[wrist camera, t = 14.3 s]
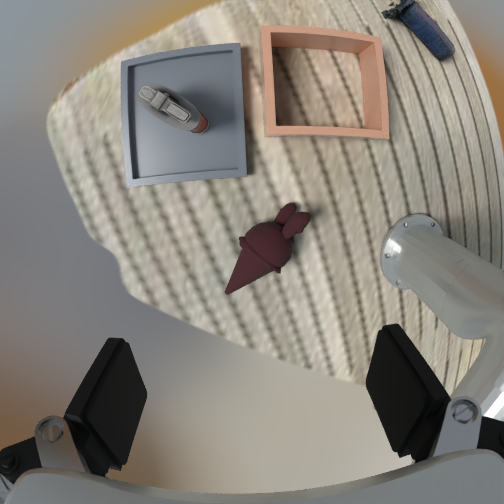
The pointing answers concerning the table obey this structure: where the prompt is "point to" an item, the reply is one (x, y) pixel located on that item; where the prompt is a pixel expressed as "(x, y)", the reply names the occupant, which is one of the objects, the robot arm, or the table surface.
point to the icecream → (267, 247)
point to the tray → (176, 140)
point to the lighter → (172, 108)
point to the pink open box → (336, 41)
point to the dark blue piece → (423, 28)
